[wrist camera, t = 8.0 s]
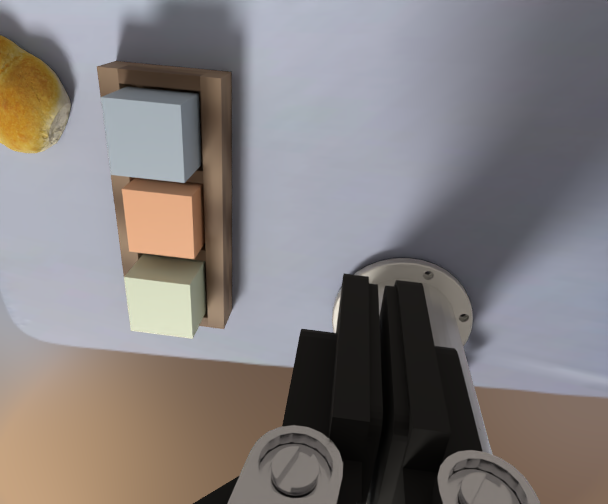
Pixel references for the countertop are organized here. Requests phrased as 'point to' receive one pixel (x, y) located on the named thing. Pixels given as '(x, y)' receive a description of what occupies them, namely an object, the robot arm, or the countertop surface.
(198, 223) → the orange block
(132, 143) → the slate button
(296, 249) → the countertop surface
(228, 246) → the wooden tray
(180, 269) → the sage button
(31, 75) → the bread roll
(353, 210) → the countertop surface
